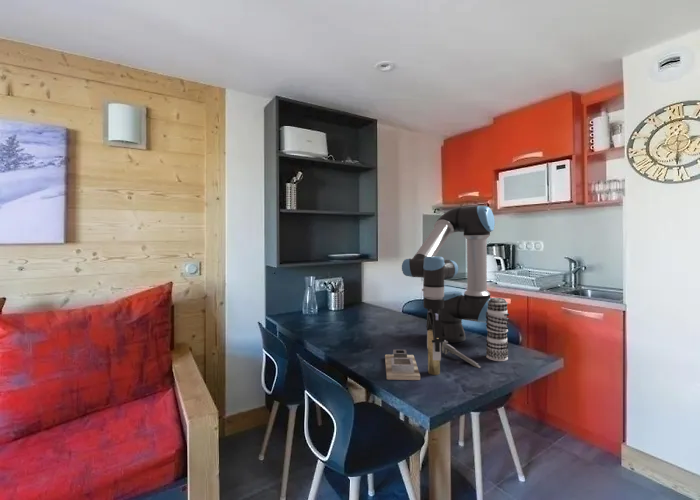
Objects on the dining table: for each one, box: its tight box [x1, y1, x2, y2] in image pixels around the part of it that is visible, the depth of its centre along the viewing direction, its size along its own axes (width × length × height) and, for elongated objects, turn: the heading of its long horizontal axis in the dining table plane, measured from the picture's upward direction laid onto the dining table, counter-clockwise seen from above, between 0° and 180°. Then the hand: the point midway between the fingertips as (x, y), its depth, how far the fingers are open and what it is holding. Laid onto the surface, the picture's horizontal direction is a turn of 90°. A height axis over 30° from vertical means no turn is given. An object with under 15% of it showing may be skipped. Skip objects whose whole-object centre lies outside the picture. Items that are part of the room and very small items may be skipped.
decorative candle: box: [485, 297, 510, 362], centre depth 147 cm, size 9×9×25 cm
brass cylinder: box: [427, 329, 441, 376], centre depth 132 cm, size 4×4×16 cm
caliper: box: [441, 340, 482, 369], centre depth 145 cm, size 20×1×6 cm, turn 29°
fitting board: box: [384, 349, 421, 381], centre depth 137 cm, size 22×12×4 cm, turn 176°
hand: (433, 353), depth 132 cm, fingers open, 13 cm apart
